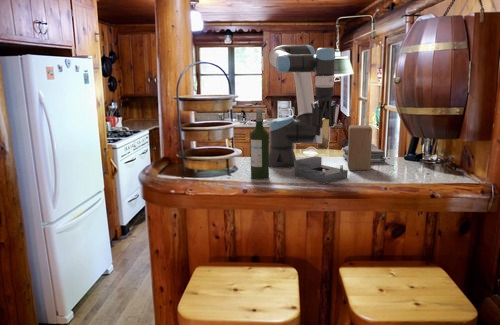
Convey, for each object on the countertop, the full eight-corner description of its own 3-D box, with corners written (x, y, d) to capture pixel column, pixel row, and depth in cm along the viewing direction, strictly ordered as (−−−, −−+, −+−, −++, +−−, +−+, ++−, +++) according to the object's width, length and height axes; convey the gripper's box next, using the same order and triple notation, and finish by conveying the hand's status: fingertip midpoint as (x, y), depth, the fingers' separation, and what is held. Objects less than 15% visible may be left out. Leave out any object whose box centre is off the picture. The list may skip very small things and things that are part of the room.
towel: (341, 158, 212) (341, 144, 210) (374, 157, 214) (375, 143, 212) (351, 164, 197) (352, 149, 195) (387, 163, 199) (388, 147, 197)
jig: (294, 175, 176) (294, 160, 174) (316, 171, 184) (316, 156, 182) (324, 183, 161) (325, 167, 160) (347, 178, 170) (347, 162, 168)
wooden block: (370, 171, 182) (372, 127, 178) (348, 170, 184) (349, 127, 180) (368, 166, 192) (370, 125, 188) (347, 165, 194) (348, 124, 190)
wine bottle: (270, 175, 177) (270, 107, 171) (266, 179, 170) (266, 109, 163) (253, 174, 179) (252, 107, 173) (249, 178, 171) (247, 109, 165)
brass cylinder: (315, 147, 171) (316, 119, 168) (322, 145, 173) (323, 118, 171) (323, 148, 167) (324, 120, 165) (330, 147, 170) (331, 119, 167)
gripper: (317, 87, 157) (315, 146, 162) (345, 86, 167) (343, 141, 172) (303, 87, 162) (302, 143, 167) (331, 85, 173) (329, 138, 178)
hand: (323, 142), depth 170 cm, fingers closed on brass cylinder, 4 cm apart
